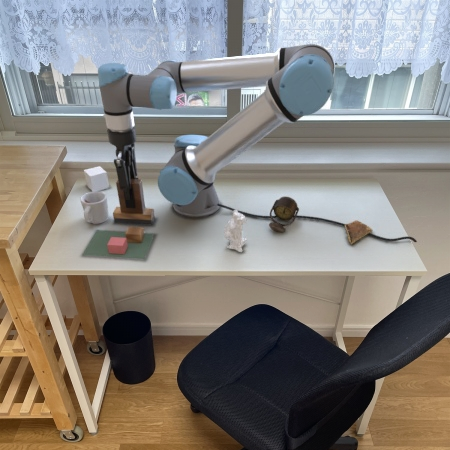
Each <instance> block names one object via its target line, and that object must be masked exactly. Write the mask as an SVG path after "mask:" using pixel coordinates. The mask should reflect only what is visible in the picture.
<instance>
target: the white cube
mask: <svg viewBox="0 0 450 450" xmlns="http://www.w3.org/2000/svg"><path fill="white" fill-rule="evenodd" d="M83 173H84V178H85V182H86V187H87V188H88V189H89V190H90V191H91V192H93V191H98V192H101V191H104V190H108V189H110V184H109V178H108V172H107V171H106V170H105V169H104V168H103V167H102V166H100V165H98V166H94V167H90V168H86V169H83Z"/></svg>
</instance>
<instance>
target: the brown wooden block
mask: <svg viewBox="0 0 450 450" xmlns="http://www.w3.org/2000/svg"><path fill="white" fill-rule="evenodd" d="M115 185H116V189H117V190H116V191H117V196H118V202H119V206H116V207H115V208H114V210H113V212H112V216H113V221H114V222H113V223H114V224H129V225H130V224H132V225H146V226H147V225H149V226H152V225H153V224H154V221H155V219H156V217H155V209H154V208H147V207H146V202H145V195H144V187H143V180H142V179H140V178H138V179H131V188H133V194H134V200H135V208H126V204H125V197H124V191H123V190H120V186H119V181H118V179H117V180H116V182H115Z"/></svg>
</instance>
